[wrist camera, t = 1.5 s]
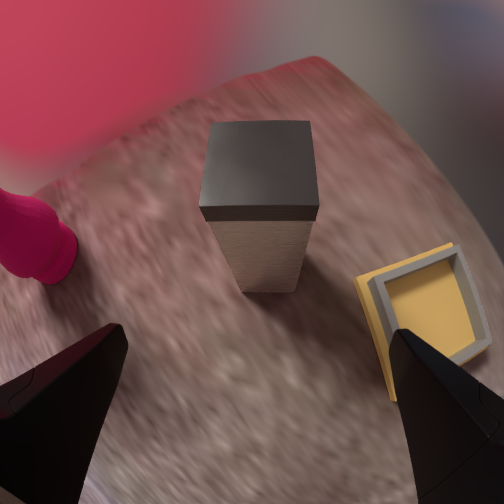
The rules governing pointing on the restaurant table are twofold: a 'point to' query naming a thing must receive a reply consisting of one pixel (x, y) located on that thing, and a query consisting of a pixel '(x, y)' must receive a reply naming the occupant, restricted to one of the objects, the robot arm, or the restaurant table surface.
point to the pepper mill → (34, 239)
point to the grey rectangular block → (261, 199)
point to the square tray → (425, 306)
